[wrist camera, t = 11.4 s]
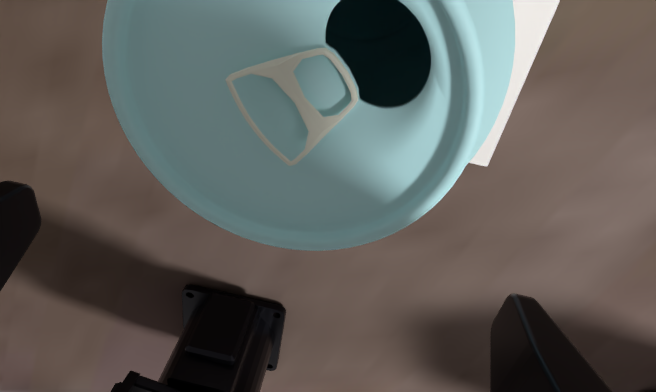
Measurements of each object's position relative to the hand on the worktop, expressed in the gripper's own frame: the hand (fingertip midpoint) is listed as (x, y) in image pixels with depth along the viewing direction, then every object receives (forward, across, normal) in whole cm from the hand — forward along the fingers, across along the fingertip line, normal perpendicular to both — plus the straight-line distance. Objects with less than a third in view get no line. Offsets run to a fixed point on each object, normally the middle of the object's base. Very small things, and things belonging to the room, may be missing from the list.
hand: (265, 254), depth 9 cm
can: (+12, 0, -3) cm, 13 cm away
